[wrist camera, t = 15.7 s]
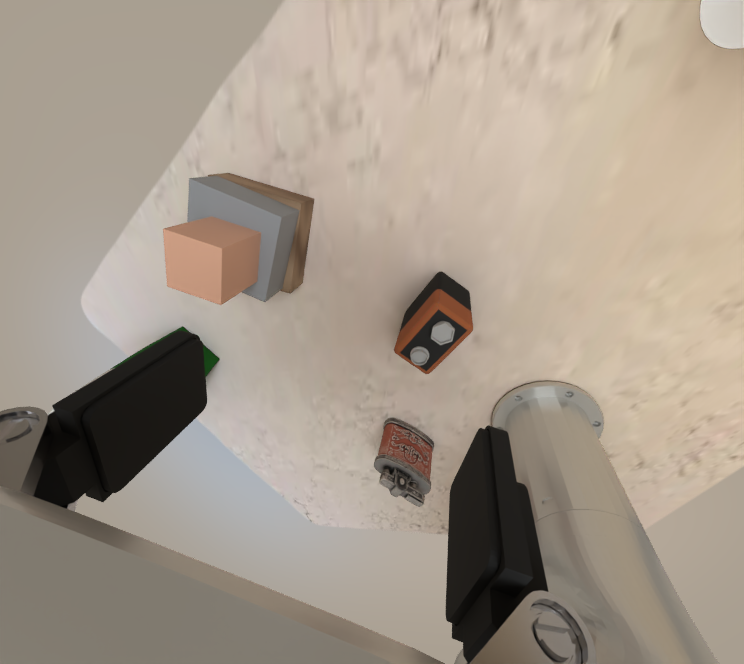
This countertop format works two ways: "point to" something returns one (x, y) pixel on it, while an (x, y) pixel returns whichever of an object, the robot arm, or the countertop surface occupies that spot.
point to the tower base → (301, 232)
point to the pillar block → (211, 258)
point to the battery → (435, 323)
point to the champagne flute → (723, 22)
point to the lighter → (405, 461)
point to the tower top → (249, 225)
